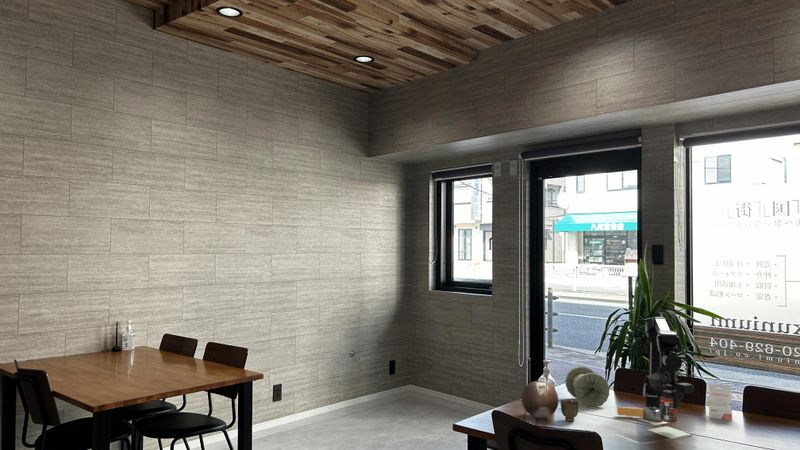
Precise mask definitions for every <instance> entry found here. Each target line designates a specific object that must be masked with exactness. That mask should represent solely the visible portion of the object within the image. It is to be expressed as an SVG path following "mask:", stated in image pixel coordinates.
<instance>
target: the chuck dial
mask: <svg viewBox="0 0 800 450" xmlns="http://www.w3.org/2000/svg"><path fill="white" fill-rule="evenodd" d="M616 408H617V409H616V414H617V415H618V416H625V417H626V416H627V417H628V416H629V417H635V416H639V417H643V419H644V420H647V421H651V422H663V421H662V420H661V419H660V408H657V407H646V406H644V407H633V406H620V405H619V406H617V407H616Z"/></svg>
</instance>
